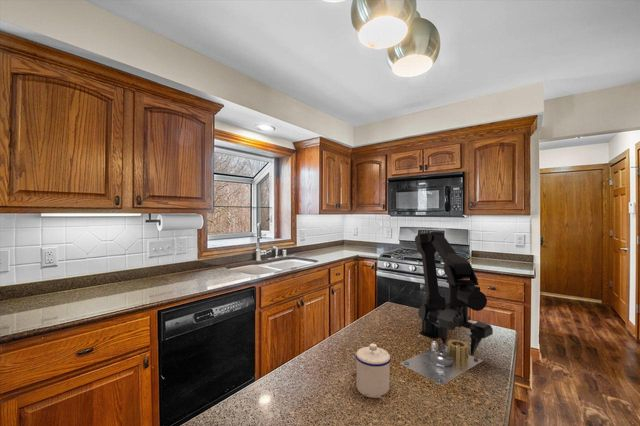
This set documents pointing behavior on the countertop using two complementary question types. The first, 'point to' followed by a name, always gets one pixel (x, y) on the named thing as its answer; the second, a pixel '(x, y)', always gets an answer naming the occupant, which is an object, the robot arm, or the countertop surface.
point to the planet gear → (458, 350)
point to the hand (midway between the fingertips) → (457, 348)
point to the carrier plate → (436, 370)
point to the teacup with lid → (372, 371)
